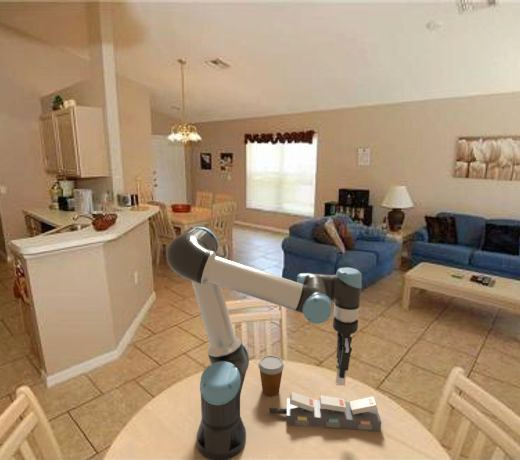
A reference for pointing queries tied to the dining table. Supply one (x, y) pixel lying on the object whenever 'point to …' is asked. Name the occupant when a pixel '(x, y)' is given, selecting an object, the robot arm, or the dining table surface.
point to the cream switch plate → (332, 403)
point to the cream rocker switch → (363, 405)
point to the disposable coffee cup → (271, 374)
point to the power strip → (330, 417)
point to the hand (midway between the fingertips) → (340, 383)
